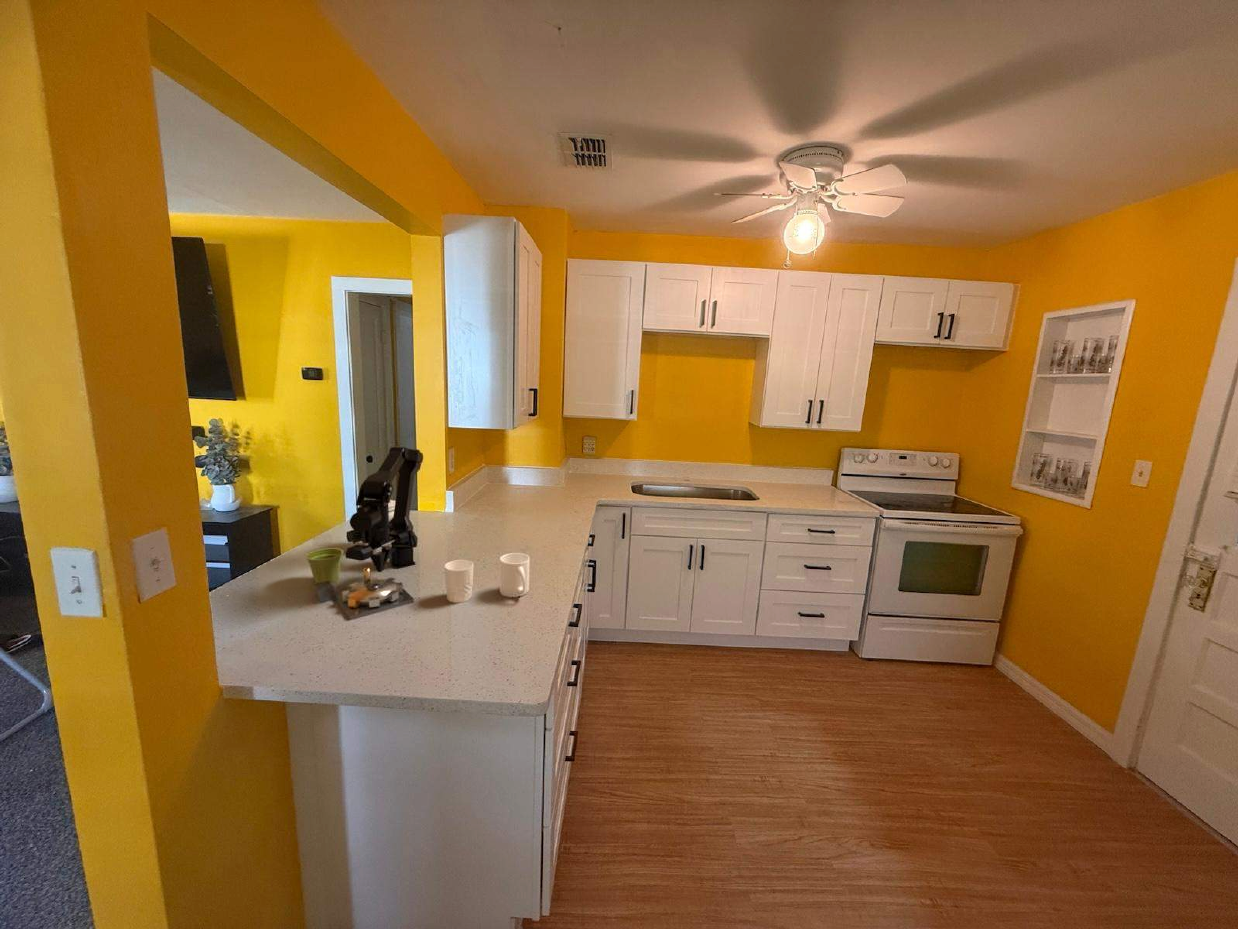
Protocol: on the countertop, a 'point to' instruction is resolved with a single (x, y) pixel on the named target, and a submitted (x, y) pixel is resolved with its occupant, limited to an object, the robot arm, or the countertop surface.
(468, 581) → the white cup
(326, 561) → the plant pot
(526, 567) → the mug
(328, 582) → the taupe rectangular block
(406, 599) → the base plate
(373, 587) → the grey cog wheel
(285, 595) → the countertop surface
